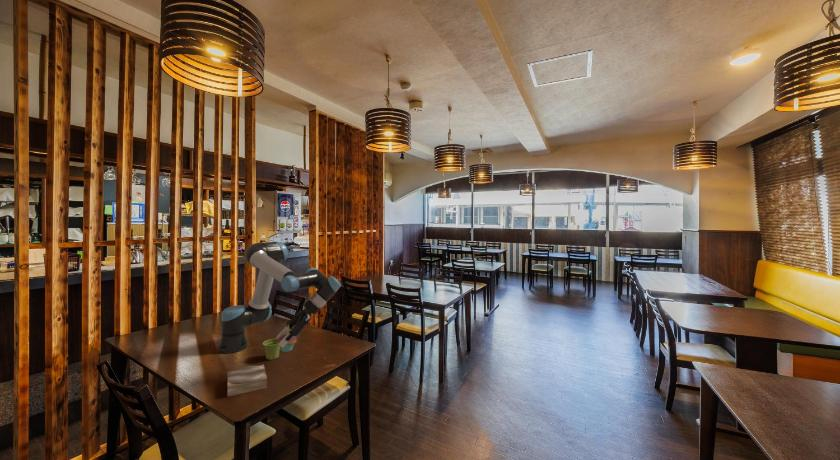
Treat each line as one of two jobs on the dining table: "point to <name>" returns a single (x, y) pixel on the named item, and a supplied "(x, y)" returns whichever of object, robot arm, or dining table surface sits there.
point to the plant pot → (271, 349)
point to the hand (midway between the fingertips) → (279, 342)
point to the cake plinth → (246, 380)
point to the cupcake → (289, 345)
